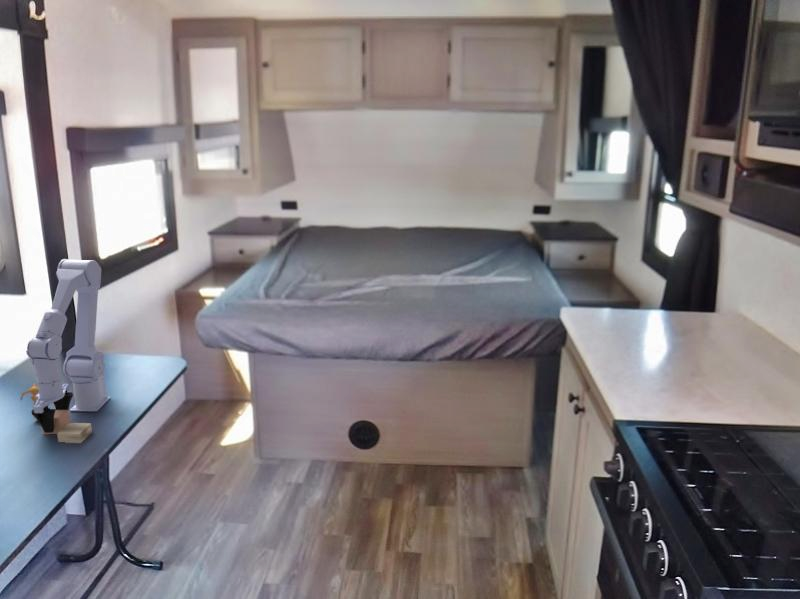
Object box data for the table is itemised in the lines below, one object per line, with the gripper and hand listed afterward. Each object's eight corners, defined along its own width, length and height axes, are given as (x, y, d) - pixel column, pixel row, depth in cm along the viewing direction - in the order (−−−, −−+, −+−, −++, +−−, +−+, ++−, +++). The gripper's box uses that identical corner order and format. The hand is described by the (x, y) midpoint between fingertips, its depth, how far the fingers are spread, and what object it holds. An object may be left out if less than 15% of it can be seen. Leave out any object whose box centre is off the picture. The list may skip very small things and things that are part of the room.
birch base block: (70, 432, 173) (69, 422, 173) (92, 433, 173) (90, 423, 172) (58, 443, 168) (57, 433, 167) (80, 444, 167) (79, 433, 167)
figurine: (59, 414, 183) (53, 376, 179) (55, 424, 177) (49, 384, 174) (27, 418, 180) (20, 380, 177) (22, 428, 175) (15, 388, 171)
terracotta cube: (52, 426, 176) (50, 409, 175) (70, 426, 177) (68, 409, 175) (43, 434, 172) (40, 418, 170) (61, 434, 172) (59, 418, 170)
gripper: (48, 369, 177) (55, 413, 181) (18, 390, 163) (27, 438, 167) (73, 369, 177) (80, 413, 181) (46, 391, 163) (53, 438, 167)
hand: (56, 425), depth 174 cm, fingers open, 7 cm apart
